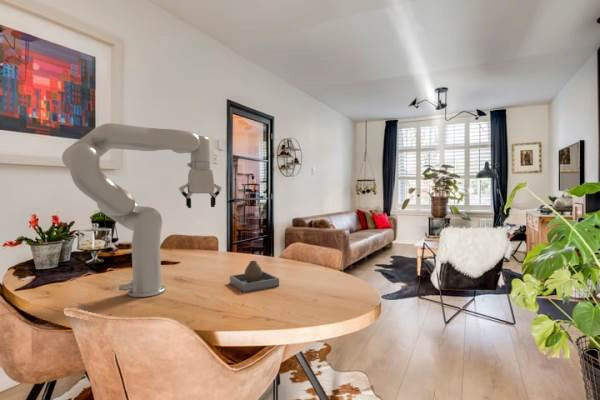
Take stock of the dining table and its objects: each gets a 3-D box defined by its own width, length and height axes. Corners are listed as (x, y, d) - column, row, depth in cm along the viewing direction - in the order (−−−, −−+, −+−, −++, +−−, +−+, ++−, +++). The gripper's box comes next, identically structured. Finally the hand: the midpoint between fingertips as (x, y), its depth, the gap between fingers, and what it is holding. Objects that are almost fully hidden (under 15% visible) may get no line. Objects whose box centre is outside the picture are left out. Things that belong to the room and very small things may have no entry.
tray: (243, 292, 122) (243, 284, 121) (229, 283, 134) (229, 275, 134) (279, 286, 129) (279, 278, 129) (262, 277, 142) (262, 270, 142)
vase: (261, 285, 128) (260, 263, 128) (243, 285, 128) (242, 263, 128) (263, 280, 135) (263, 259, 135) (246, 281, 135) (246, 259, 135)
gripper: (180, 165, 131) (181, 208, 131) (223, 166, 140) (224, 207, 140) (176, 166, 137) (177, 207, 137) (217, 167, 146) (218, 206, 147)
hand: (201, 207), depth 139 cm, fingers open, 9 cm apart
